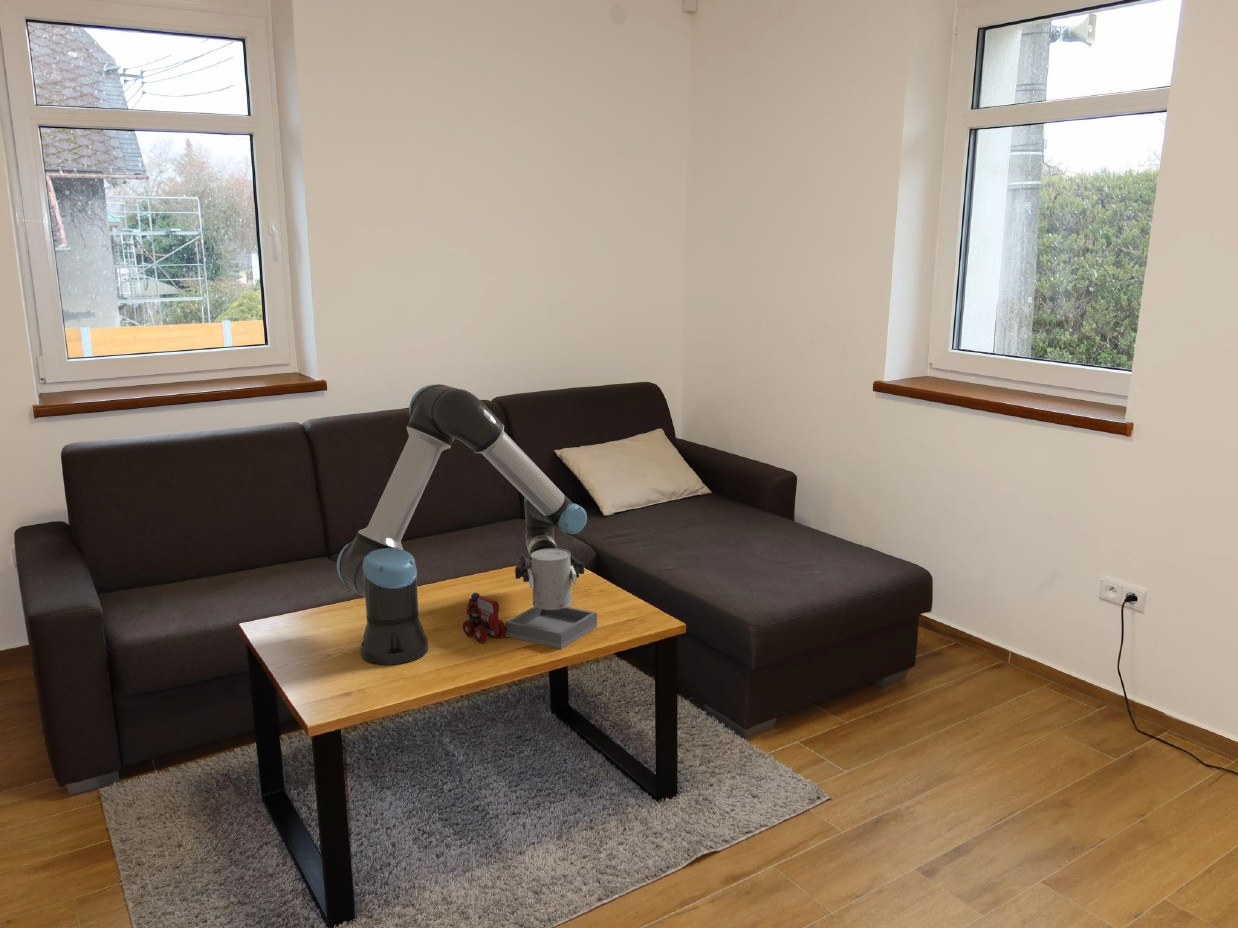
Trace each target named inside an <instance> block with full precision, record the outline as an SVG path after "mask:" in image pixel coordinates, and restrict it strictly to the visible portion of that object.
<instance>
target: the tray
mask: <svg viewBox="0 0 1238 928" xmlns="http://www.w3.org/2000/svg"><path fill="white" fill-rule="evenodd" d="M504 624H505V626H506V634H505V637H506V638H509V639H514V638H515V639H516V640H519V641H524V642H528V643H533V644H536V645H537V644H538V645H542V646H547V647H551V648H554V649H559V650H562V649H564V648H566V647H567V646H568V645H569V646H570V644H572V643H573V642H575V641H577V640H579V639H580V638H582V637H583V636H584V635H587V634H588V633H590V632H591V631H593V630H594V629H596V628H598V613H597V612H596V611H591V610H585V609H583V608H582V609H581V608H577V607H571V606H568V607H566V608H562V609H557V610H544V609H539V608H536V607H535V606H533V607H531V608H529V609H527V610H525V611H524V612H523V611H522V612H521V613H520V614H517V615H516V616H514V617H512V618H510V619H508V620H506V621H505V622H504ZM581 636H582V637H581Z"/></svg>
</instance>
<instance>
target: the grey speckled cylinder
mask: <svg viewBox="0 0 1238 928" xmlns="http://www.w3.org/2000/svg"><path fill="white" fill-rule="evenodd" d="M557 548H558V547H557ZM557 548H550V549H541V550H537V551H535V552H533V553H532V554H531V563H532V575H533V586H534V588H532V605H533V607H534V606H535V607H536V608H539V609H544V610H557V609H562V608H566V607H571V605H572V603H573V600H572V597H573V595H572V580H571V564H570V555H571V554H570V553H571V552H570V550H567V549H564V548H558V549H557Z"/></svg>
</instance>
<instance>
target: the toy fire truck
mask: <svg viewBox="0 0 1238 928" xmlns="http://www.w3.org/2000/svg"><path fill="white" fill-rule="evenodd" d="M470 597H471V598H470V599H469V600H468V603H467V608H466V620H464V622H463V623H462V630H463V632H464V634H465V635H466V637H468V638H470V637H474V639H475V641H476V642H477V643H479V644H482V643H485V642H486V641H488V637H497V638H501V637H504V636H506V626H505V622H504V621H503V620H501V619H499V612H500V606H499V603H498V601H497V600H494V599H492V598H489V597H487V596H484V595H480V594H479V593H478V592H473V593H472V594H471V596H470Z"/></svg>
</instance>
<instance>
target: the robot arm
mask: <svg viewBox="0 0 1238 928" xmlns="http://www.w3.org/2000/svg"><path fill="white" fill-rule="evenodd" d="M408 412H409V417H410V419H409V422H408V424H407V426H406V430H407V433H408V439H407V441H406V443H405V445H404V447H403V450H402V452H401V453H400V455H399V458H398V460H397V463H396V464H395V466H394V468H393V470H392V473H391V475H390V477H389V479H388V482H387V484H386V486H385V488H384V491H383V493H382V495H381V497H380V499H379V501H378V504H377V506H376V508H375V510H374V512H373V513H372V516H371V518H370V520H369V523H368V525H367V526H366V527H365V528H363V529H359V530H358V531H357V533H356V535H355V537H354V540H352V541H351V542H349V543H347V544H345V546H344V547H343V548H342V549H341V550H340V552H339V554H338V556H337V560H336V571H337V574H338V577H339V578H340V580H341V582H343V584H344V585H345V586H346V587H347V588H348V589H349V590H351V591H353V592H355V593H356V594H358V595H359V596H360V597H363V599H365V609H366V611H365V614H366V625H365V628H364V629H365V630H364V633H363V638H362V641H361V644H360V653H361V654H360V655H361V658H362V660H364V661H365V662H368V663H371V664H373V665H374V664H375V665H386V666H387V665H399V664H404V663H408V662H409V663H410V662H412V661H415V660H417V659H420V658H421V657H423V656H425V655H426V654H427V653H428V651H429V641H428V637H427V635H426V634H425V631H424V627H423V625H422V622H421V620H420V617H419V616H420V615H419V602H418V601H419V599H418V579H417V577H418V576H417V575H418V569H417V566H416V559H415V558H414V556H413V555H412V553H410V552H408V551H406V550H404V548H403V544H402V539H403V536H404V535H405V532H406V530H407V528H408V526H409V525H410V521H411V520H412V517H413V515H414V513H415V510H416V509H417V506H418V504H419V502H420V500H421V497H422V495H423V493H424V491H425V488H426V486H427V485H428V483H429V481H430V478H431V476H432V474H433V472H434V470H435V467H436V465H437V463H438V461H439V459H440V456H441V453H442V452H443V451H445V450H448V449H451V447H452V446H453V443H454V441H455V440H458V441H459V442H461V443H462V444H464V445H466V446H467V447H468V448H469V449H470V450H471V451H473V453H475V454H481V455H483V456H484V458H485V459H486V460H487V461H489V463H490V464H491V465H492V467H494V468H495V469H496V470H497V471H498V472H499V473H500V474H501V475H502V476H503V477H505V478H506V480H507V481H508V482H509V483H510V484H511V485H512V486H513V487H515V489H516V490H518V492H519V493H521V495H522V496H523V497H524V500H523V502H524V517H525V536H524V540H525V541H524V544H525V547H526V548H527V552H528V554H529V555H528V556H529V558H526V557H524V556H519V557H518V560H519V561H518V563H517V565H516V566H515V568H514V574H515V575H514V576H515V579H518V580H519V579H521V578H522V581H523V582H524V583H528V585H529V588H530V589H533V588H534V586H533V575H532V563H531V554H532V553H533V552H535V551H537V550H541V549H550V548H557V549H559V548H558V546H557V543H556V540H555V529H556V530H558V531H560V532H562V533H563V534H570V535H576V534H578V533H580V532H582V530H583V529H584V527H585V526H586V525H587V522H588V521H587V520H588V514H587V511H586V509H584V508H583V507H582V506H581V505H579V504H577V503H573V502H572V501H571V500H570V499H569V498H568V497H567V496H566V495H565V494H564V493H563V492H562V491H561V490H560V489H559V487H557V486H556V485H555V484H554V482H553V481H552V480H551V479H550V478H549V477H548V476H547V475H546V474H545V473H544V472H543V471H542V470H541V469H540V468H539V466H537V464H536V463H535V462H534V461H533V460H532V459H531V458H530V457H529V456H528V455H527V454H526V453H525V452H524V450H522V448H520V447H519V446H518V445H517V443H516V442H515V441H514V440H513V439H512V438H511V437H510V436H509V435H508V434H507V433H506V432H505V431H504V430H505V425H504V424H503V423H502V422H501V420H500V419H499V418H498V417H497V416H496V415H495V414H494V413H493V412H492V411H491V410H490V409H489V407H488V406H486V405H485V403H483V402H482V400H480V399H479V398H478V397H477V396H476V395H474V394H473V393H472V392H470V391H468V390H466V389H462V388H458V387H454V386H450V385H445V384H439V383H438V384H428V385H425V386H423V387H421V388H419V390H417V391H416V392H415V393H414V394H413V396H412V398H411V399H410V403H409V408H408ZM570 554H571V555H570V564H571V584H573V586H577V585H578V584H577V582H578V580H577V579H578V578H579V577H580V575H584V574H585V563H584V562H582V561H581V560H579V558H577V557H575V556H574V553H573V552H572V553H571V552H570ZM523 582H522V583H523Z"/></svg>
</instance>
